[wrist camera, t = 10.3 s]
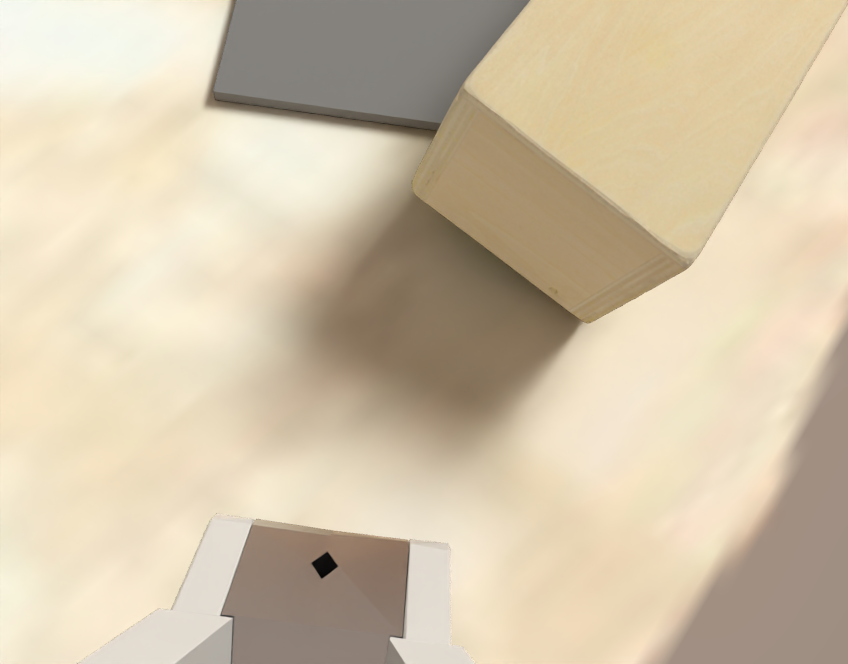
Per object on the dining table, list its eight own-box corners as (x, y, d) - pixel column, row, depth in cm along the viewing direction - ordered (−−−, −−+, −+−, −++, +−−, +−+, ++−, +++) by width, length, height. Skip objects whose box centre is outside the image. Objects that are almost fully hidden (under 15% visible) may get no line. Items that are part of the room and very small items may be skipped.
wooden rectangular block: (581, 336, 27) (808, -32, 34) (700, 273, 20) (956, -174, 27) (399, 201, 26) (666, -143, 33) (456, 89, 20) (779, -318, 26)
